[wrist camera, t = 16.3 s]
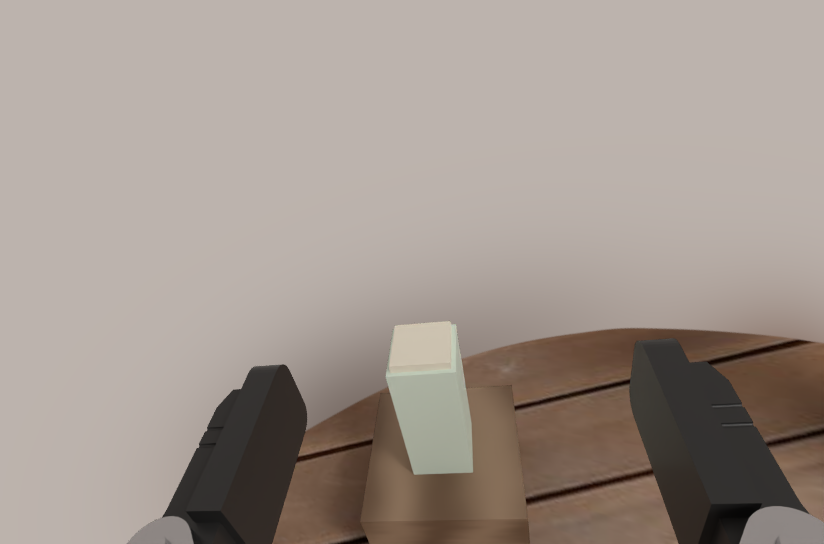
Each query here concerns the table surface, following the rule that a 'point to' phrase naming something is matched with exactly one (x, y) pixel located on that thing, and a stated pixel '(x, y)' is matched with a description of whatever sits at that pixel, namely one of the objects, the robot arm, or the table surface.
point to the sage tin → (431, 397)
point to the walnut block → (449, 482)
